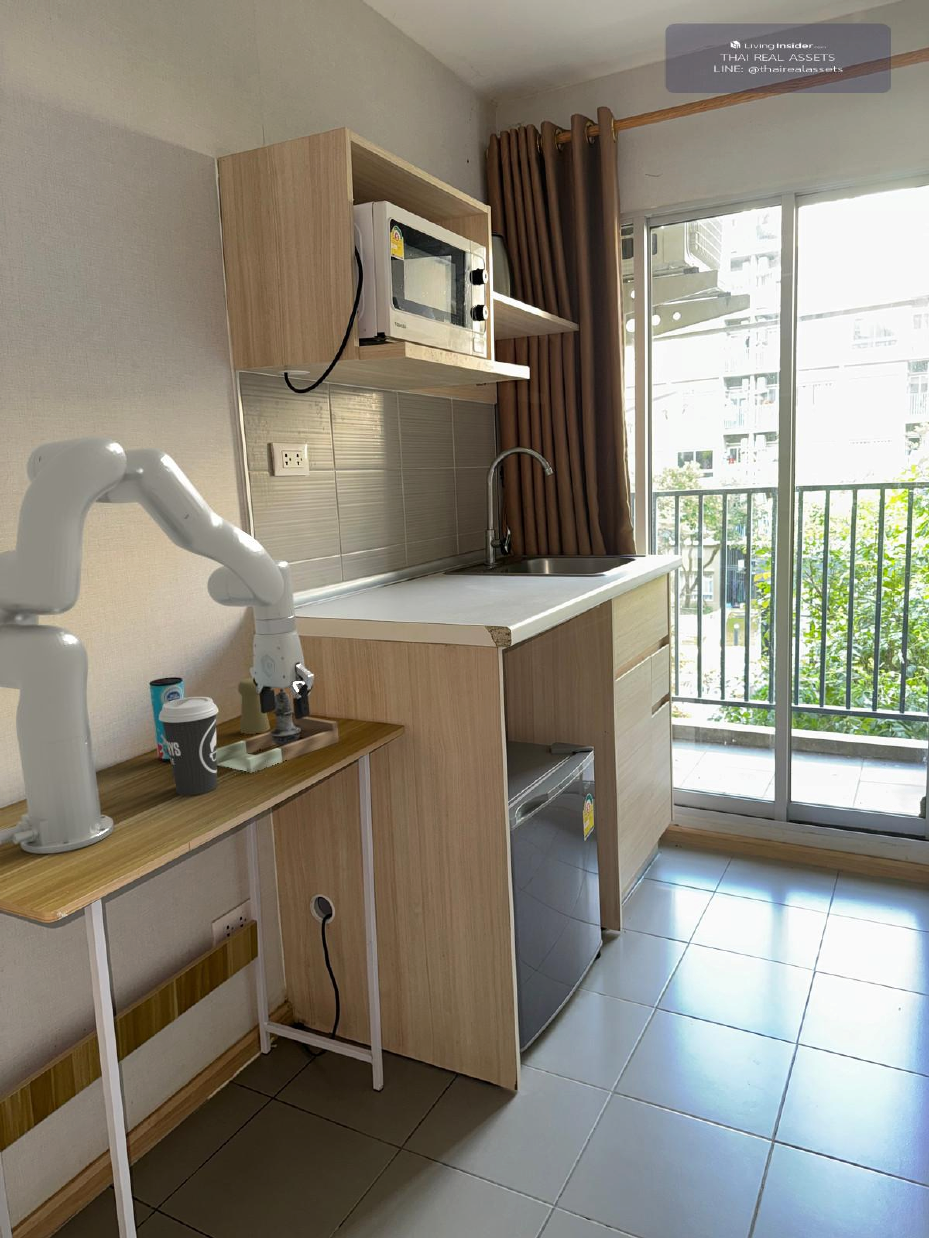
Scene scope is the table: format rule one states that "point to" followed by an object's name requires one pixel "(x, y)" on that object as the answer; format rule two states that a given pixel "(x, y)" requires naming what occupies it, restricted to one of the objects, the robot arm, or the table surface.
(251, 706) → the cork
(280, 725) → the grey chess piece
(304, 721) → the bay
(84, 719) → the robot arm
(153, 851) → the table surface
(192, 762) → the coffee cup
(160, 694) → the beverage can
